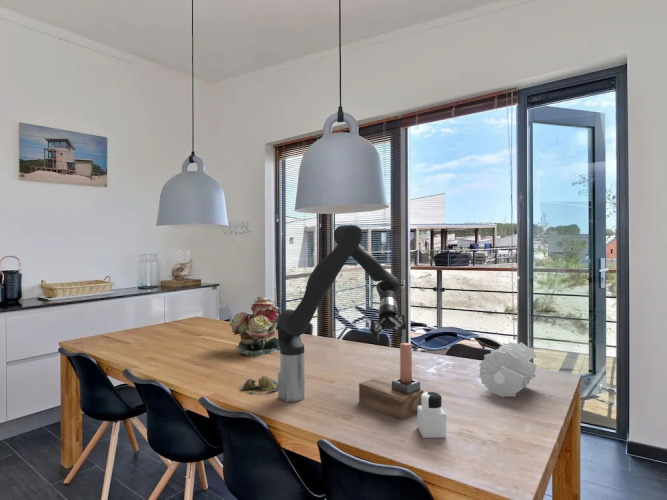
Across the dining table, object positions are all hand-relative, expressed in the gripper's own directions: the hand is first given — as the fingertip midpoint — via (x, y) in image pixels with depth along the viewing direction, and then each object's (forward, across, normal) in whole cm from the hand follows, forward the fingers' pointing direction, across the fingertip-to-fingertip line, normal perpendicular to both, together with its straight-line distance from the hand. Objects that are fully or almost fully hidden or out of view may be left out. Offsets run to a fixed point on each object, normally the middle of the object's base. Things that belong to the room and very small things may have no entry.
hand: (388, 338), depth 151 cm
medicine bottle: (+34, +11, +10) cm, 37 cm away
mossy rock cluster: (+6, -56, +9) cm, 57 cm away
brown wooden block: (+18, -4, +16) cm, 24 cm away
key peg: (+16, +4, +10) cm, 19 cm away
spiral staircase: (-1, +39, +39) cm, 55 cm away
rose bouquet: (-41, -83, +32) cm, 98 cm away
